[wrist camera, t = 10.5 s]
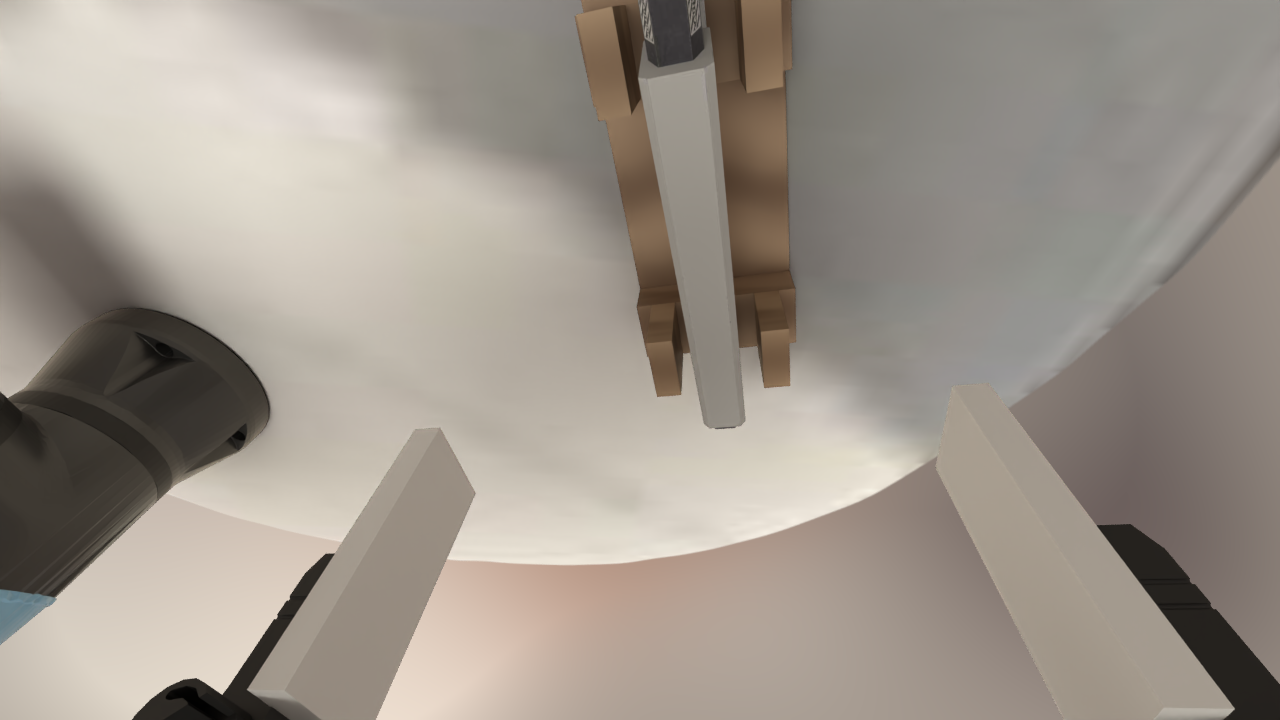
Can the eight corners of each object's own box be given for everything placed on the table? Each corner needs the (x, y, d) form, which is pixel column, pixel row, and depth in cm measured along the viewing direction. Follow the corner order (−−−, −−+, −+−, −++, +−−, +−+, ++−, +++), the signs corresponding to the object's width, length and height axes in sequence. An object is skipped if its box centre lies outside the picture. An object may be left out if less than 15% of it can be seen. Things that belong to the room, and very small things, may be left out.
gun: (693, -138, 20) (700, -100, 13) (734, 320, 38) (746, 433, 32) (630, -121, 20) (607, -76, 14) (701, 324, 39) (705, 435, 32)
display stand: (788, 327, 37) (807, 397, 31) (653, 341, 39) (644, 410, 32) (779, -55, 25) (808, -73, 18) (582, -9, 27) (545, -10, 20)
